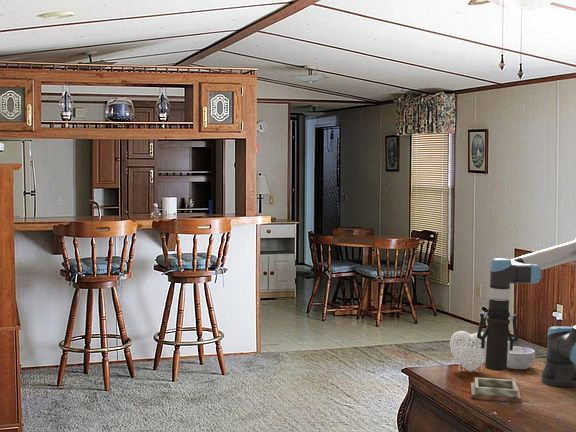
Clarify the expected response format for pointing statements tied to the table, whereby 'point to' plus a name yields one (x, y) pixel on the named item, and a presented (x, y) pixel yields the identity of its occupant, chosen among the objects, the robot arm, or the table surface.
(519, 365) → the paper bowls
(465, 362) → the decorative heart
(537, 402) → the table surface
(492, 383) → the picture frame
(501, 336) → the container
